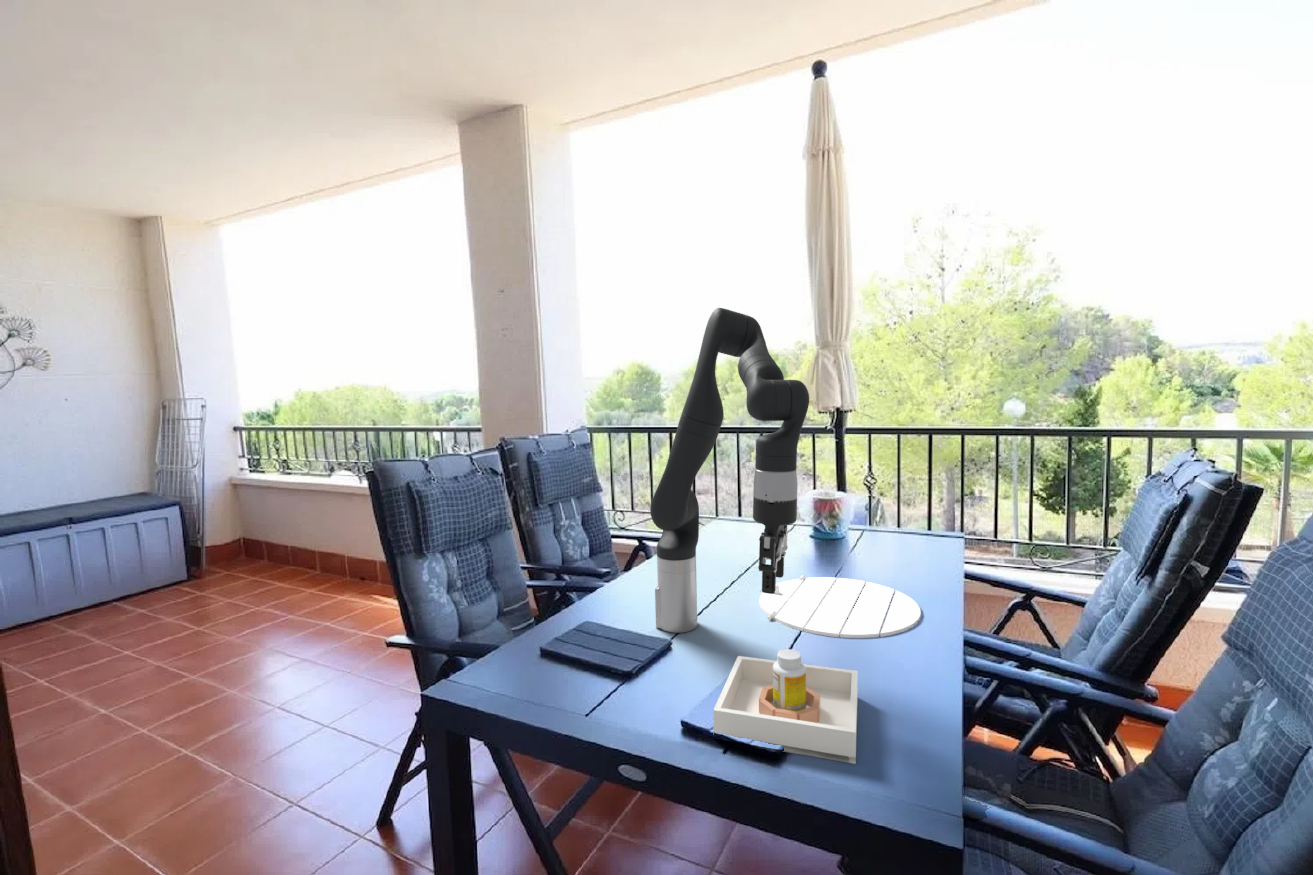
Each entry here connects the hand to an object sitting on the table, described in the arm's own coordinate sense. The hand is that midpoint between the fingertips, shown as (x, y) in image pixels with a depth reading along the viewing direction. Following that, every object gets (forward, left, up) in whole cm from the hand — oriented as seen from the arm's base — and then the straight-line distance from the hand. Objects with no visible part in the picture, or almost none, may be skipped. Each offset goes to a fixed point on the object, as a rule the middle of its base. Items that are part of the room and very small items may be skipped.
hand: (773, 584), depth 107 cm
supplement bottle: (+3, -4, -21) cm, 22 cm away
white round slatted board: (+8, +51, -23) cm, 56 cm away
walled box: (+3, -4, -22) cm, 23 cm away
